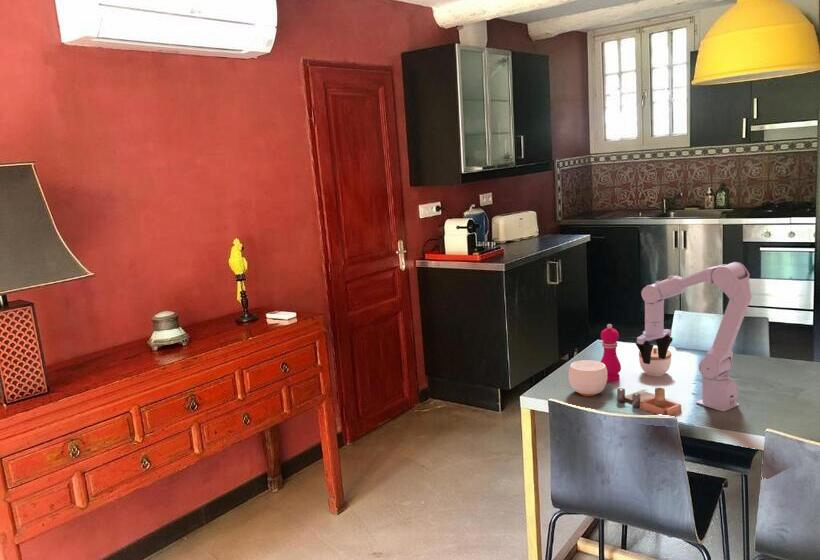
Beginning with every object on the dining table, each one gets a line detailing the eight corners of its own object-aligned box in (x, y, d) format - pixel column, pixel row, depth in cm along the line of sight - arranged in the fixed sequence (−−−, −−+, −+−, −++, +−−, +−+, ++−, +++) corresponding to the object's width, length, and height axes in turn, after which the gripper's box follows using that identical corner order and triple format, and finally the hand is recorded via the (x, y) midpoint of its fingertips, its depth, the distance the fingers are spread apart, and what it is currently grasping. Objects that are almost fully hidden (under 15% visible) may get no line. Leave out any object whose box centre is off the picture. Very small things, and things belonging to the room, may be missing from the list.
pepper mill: (604, 375, 239) (603, 320, 236) (624, 378, 235) (623, 322, 231) (596, 381, 234) (595, 325, 230) (616, 384, 229) (615, 327, 226)
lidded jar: (653, 380, 231) (653, 354, 229) (632, 372, 240) (632, 346, 239) (678, 375, 235) (678, 349, 233) (656, 366, 244) (656, 341, 243)
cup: (579, 402, 216) (578, 373, 214) (563, 389, 228) (562, 362, 226) (614, 396, 218) (614, 368, 217) (596, 384, 230) (596, 357, 229)
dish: (681, 411, 203) (681, 404, 203) (665, 417, 200) (665, 410, 199) (655, 403, 211) (655, 396, 211) (640, 408, 207) (640, 402, 207)
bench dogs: (642, 406, 209) (642, 394, 208) (637, 408, 208) (636, 396, 207) (620, 399, 216) (620, 387, 215) (615, 401, 215) (615, 389, 214)
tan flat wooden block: (659, 400, 214) (659, 396, 214) (640, 407, 210) (640, 402, 209) (641, 394, 220) (641, 390, 220) (622, 401, 215) (622, 396, 215)
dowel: (666, 408, 205) (666, 389, 204) (660, 410, 203) (660, 391, 202) (659, 405, 207) (659, 387, 206) (653, 407, 206) (652, 389, 205)
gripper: (658, 314, 225) (658, 353, 228) (629, 322, 218) (629, 362, 220) (676, 318, 219) (676, 358, 222) (647, 326, 212) (647, 367, 214)
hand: (654, 360), depth 221 cm, fingers open, 7 cm apart
